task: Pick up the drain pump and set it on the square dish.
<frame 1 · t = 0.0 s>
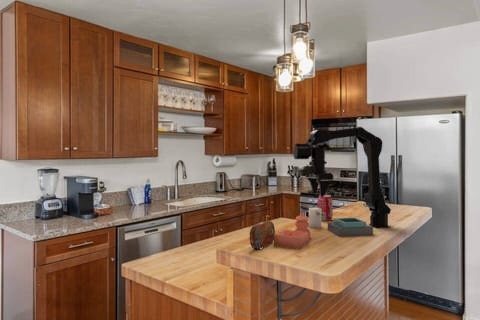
hand: (318, 195, 144), 15 cm above the table, tool pointing down, fingers open, 9 cm apart
drain pump: (315, 226, 149), on the table
brown rounded slab: (262, 246, 119), on the table
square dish: (349, 232, 138), on the table
pottery: (296, 242, 124), on the table
soda can: (325, 220, 164), on the table
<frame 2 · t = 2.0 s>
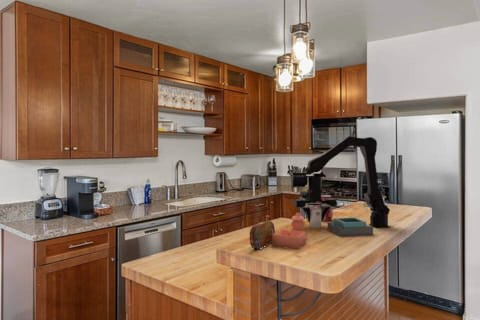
hand: (315, 221, 149), 2 cm above the table, tool pointing down, fingers closed on drain pump, 5 cm apart
drain pump: (315, 226, 149), on the table, touching gripper
pottery: (293, 242, 124), on the table
everything else where it was.
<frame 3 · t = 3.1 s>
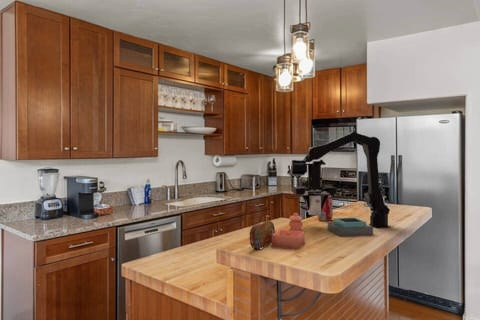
hand: (314, 209, 149), 7 cm above the table, tool pointing down, fingers closed on drain pump, 5 cm apart
drain pump: (314, 214, 149), point 5 cm above the table, touching gripper
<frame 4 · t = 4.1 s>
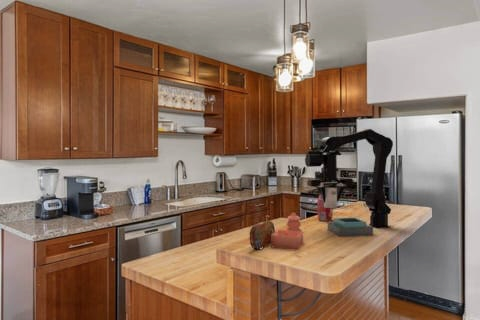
hand: (330, 202, 144), 12 cm above the table, tool pointing down, fingers closed on drain pump, 5 cm apart
drain pump: (330, 206, 144), point 10 cm above the table, touching gripper
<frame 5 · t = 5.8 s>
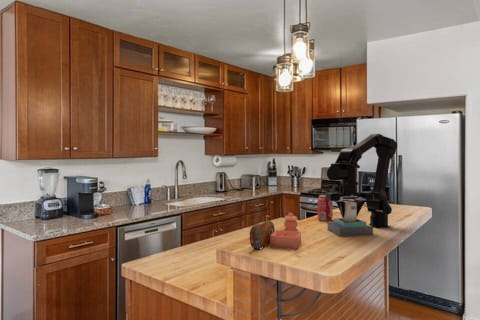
hand: (349, 217, 138), 6 cm above the table, tool pointing down, fingers closed on drain pump, 5 cm apart
drain pump: (349, 221, 138), point 4 cm above the table, touching gripper
when the fingers open (6 cm above the table, at t = 6.1 s): drain pump drops 1 cm, resting on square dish.
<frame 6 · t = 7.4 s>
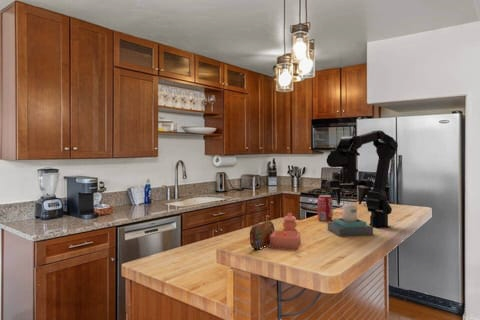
hand: (349, 204, 138), 11 cm above the table, tool pointing down, fingers open, 9 cm apart
drain pump: (349, 225, 138), point 3 cm above the table, touching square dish
brown rounded slab: (262, 246, 119), on the table, touching pottery
pottery: (287, 243, 124), on the table, touching brown rounded slab
everything else where it was.
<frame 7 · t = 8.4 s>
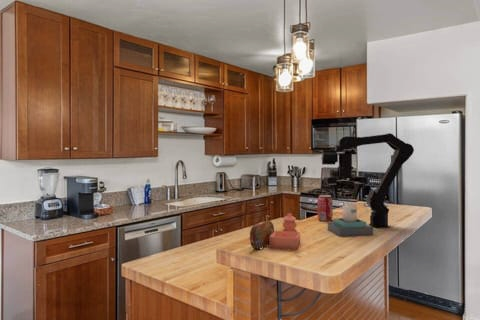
hand: (345, 199, 150), 12 cm above the table, tool pointing down, fingers open, 9 cm apart
brown rounded slab: (262, 246, 119), on the table
pottery: (287, 243, 123), on the table
everything else where it was.
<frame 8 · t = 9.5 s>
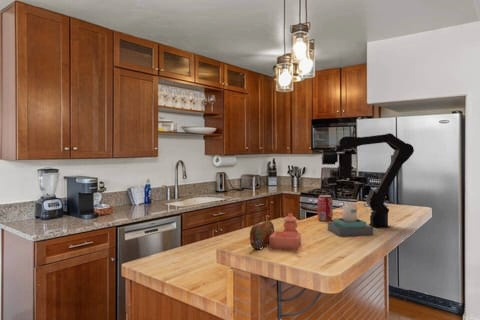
hand: (345, 199, 150), 12 cm above the table, tool pointing down, fingers open, 9 cm apart
at the end: drain pump 0.1 cm off-centre on the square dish, point 3.0 cm above the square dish's base; drain pump tilted 0°; the gripper is holding nothing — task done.
